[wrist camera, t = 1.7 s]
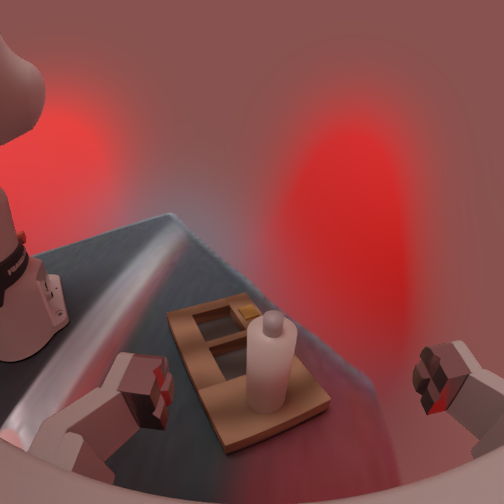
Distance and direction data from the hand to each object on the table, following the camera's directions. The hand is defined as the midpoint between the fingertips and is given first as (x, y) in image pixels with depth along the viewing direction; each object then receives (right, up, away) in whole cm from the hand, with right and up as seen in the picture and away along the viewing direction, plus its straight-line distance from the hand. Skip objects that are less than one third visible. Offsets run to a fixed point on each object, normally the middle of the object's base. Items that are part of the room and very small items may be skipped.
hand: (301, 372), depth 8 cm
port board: (-3, -10, +26) cm, 29 cm away
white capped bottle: (0, -11, +20) cm, 23 cm away
